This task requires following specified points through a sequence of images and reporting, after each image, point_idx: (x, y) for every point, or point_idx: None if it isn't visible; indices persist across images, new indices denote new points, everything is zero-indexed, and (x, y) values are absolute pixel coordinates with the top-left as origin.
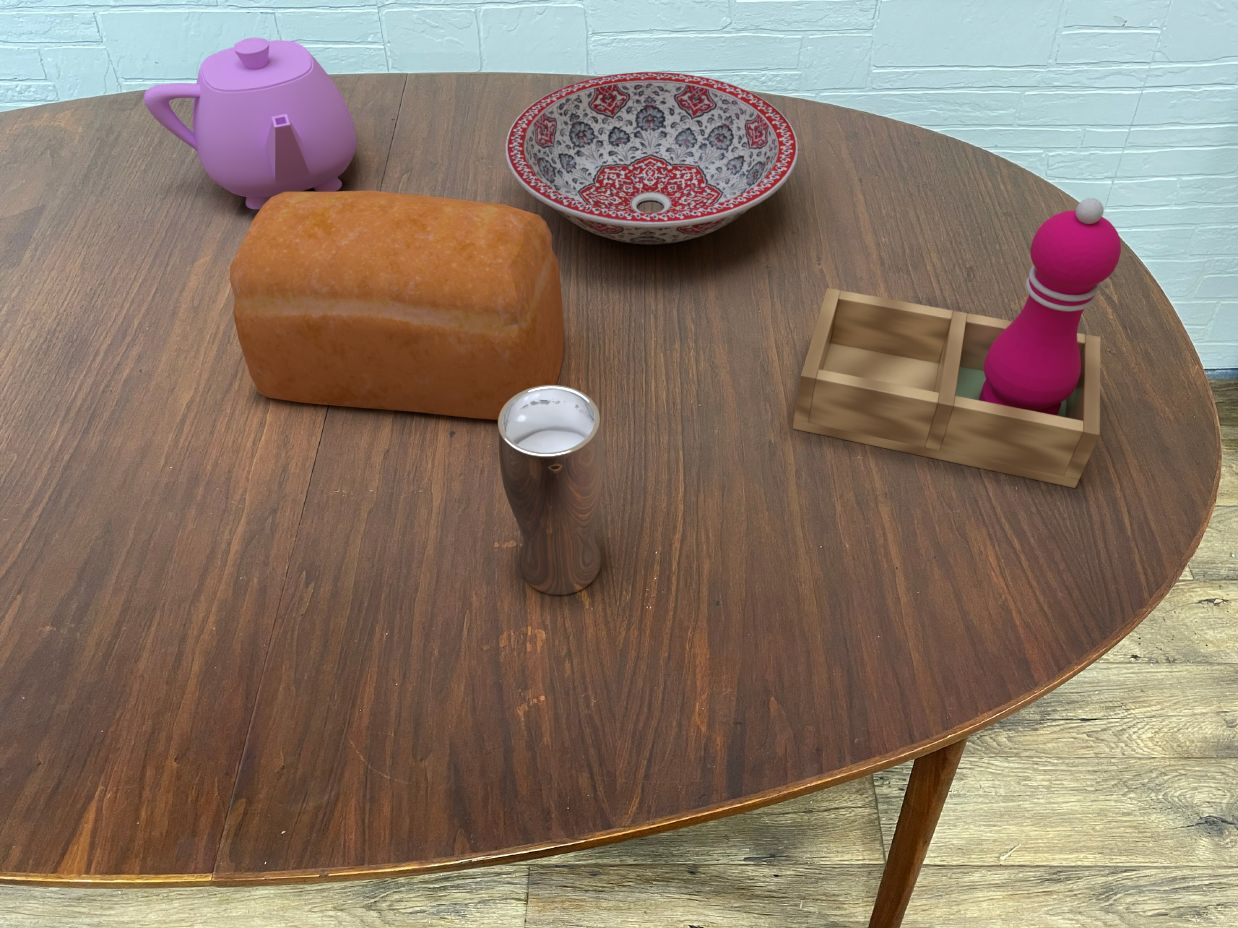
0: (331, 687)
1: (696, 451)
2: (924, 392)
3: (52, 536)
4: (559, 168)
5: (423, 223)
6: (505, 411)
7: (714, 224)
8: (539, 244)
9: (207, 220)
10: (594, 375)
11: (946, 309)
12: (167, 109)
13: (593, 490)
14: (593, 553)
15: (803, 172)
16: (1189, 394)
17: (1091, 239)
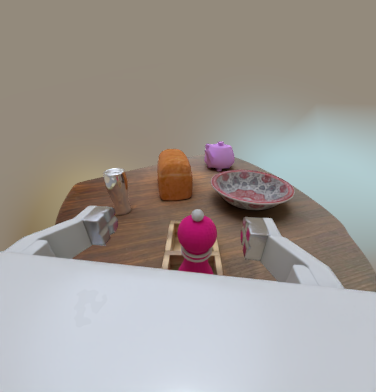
0: (98, 195)
1: (158, 222)
2: (169, 246)
3: (130, 172)
4: (240, 183)
5: (171, 155)
6: (117, 168)
7: (231, 201)
8: (179, 168)
9: (201, 165)
10: (179, 204)
11: (218, 249)
12: (207, 147)
13: (109, 188)
14: (118, 209)
15: (295, 224)
16: None
17: (185, 223)
